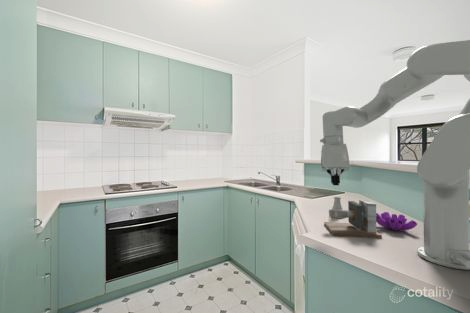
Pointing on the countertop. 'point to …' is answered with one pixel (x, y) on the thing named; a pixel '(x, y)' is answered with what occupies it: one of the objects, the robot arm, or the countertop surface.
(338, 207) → the flask
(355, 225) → the dark grey square panel
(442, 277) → the countertop surface
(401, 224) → the purple lumpy piece
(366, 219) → the pipe stand
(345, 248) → the countertop surface
